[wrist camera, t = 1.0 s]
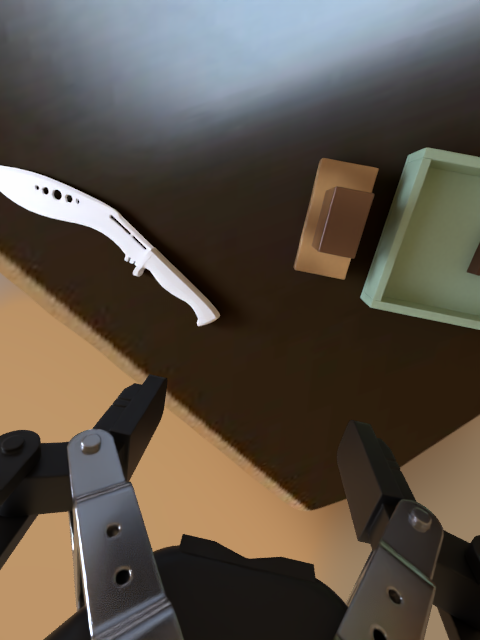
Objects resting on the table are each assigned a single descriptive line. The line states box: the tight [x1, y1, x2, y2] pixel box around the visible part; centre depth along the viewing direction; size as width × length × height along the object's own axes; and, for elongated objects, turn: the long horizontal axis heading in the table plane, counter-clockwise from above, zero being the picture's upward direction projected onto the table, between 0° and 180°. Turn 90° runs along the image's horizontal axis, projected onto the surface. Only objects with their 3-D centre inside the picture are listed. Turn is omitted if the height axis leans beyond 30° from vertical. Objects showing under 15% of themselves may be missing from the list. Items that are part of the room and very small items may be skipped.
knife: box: [0, 166, 220, 326], centre depth 33 cm, size 30×2×8 cm
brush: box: [294, 158, 379, 280], centre depth 27 cm, size 10×5×8 cm, turn 169°
